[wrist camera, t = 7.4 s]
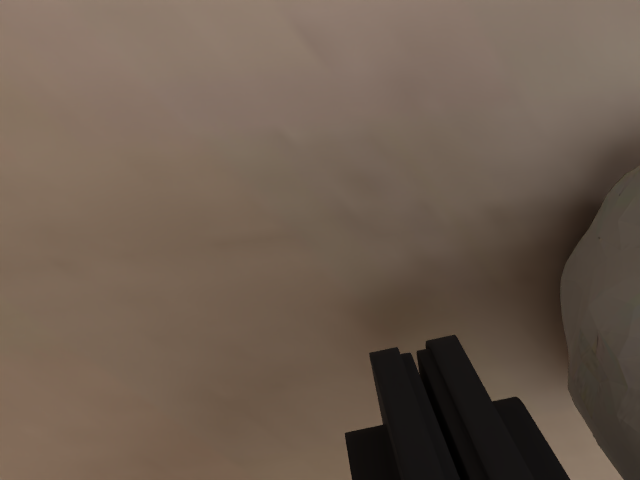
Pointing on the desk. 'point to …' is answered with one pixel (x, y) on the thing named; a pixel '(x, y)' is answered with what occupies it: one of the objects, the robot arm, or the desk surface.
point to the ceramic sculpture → (607, 325)
